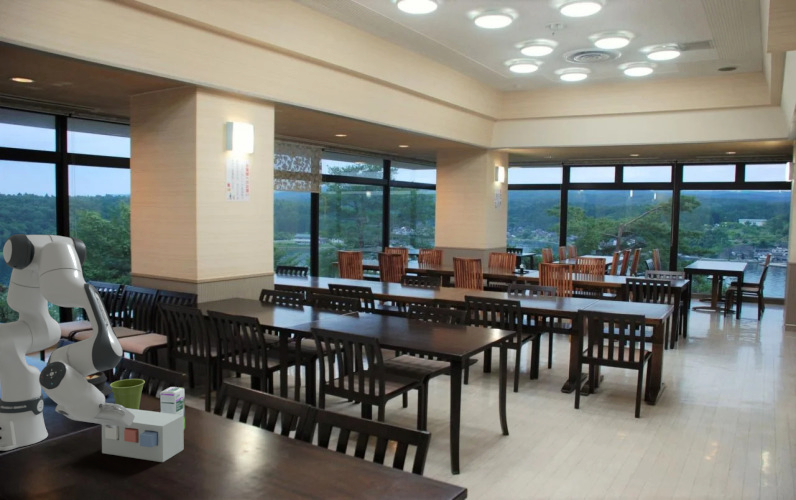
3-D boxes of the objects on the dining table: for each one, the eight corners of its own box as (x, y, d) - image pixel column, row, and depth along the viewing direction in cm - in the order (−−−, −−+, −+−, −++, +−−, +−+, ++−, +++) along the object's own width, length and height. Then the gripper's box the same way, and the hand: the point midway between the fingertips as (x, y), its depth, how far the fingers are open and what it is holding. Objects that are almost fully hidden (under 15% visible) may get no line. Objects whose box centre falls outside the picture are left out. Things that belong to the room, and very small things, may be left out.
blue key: (140, 445, 173) (139, 434, 173) (146, 442, 176) (146, 430, 176) (151, 447, 172) (151, 435, 172) (158, 443, 175) (158, 432, 175)
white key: (105, 438, 178) (105, 426, 178) (112, 434, 181) (112, 423, 181) (116, 439, 177) (116, 428, 177) (123, 436, 180) (123, 425, 180)
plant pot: (150, 407, 222) (150, 378, 222) (137, 418, 210) (137, 387, 210) (119, 407, 222) (118, 378, 221) (104, 418, 210) (103, 387, 209)
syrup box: (176, 434, 196) (175, 392, 195) (160, 433, 197) (160, 391, 196) (185, 428, 201) (185, 387, 200) (170, 427, 202) (169, 386, 202)
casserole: (41, 397, 232) (41, 376, 231) (83, 385, 249) (83, 366, 248) (84, 407, 221) (83, 385, 221) (125, 394, 238) (125, 373, 238)
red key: (124, 440, 176) (124, 429, 176) (131, 437, 179) (131, 426, 179) (135, 442, 175) (135, 431, 175) (142, 438, 178) (142, 427, 178)
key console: (102, 453, 180) (101, 418, 179) (125, 441, 190) (124, 407, 189) (162, 462, 174) (162, 426, 173) (183, 449, 184) (183, 415, 183)
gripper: (124, 396, 158) (148, 419, 168) (62, 389, 164) (90, 411, 174) (112, 418, 154) (137, 440, 164) (49, 409, 159) (78, 431, 170)
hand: (112, 425), depth 169 cm, fingers closed
